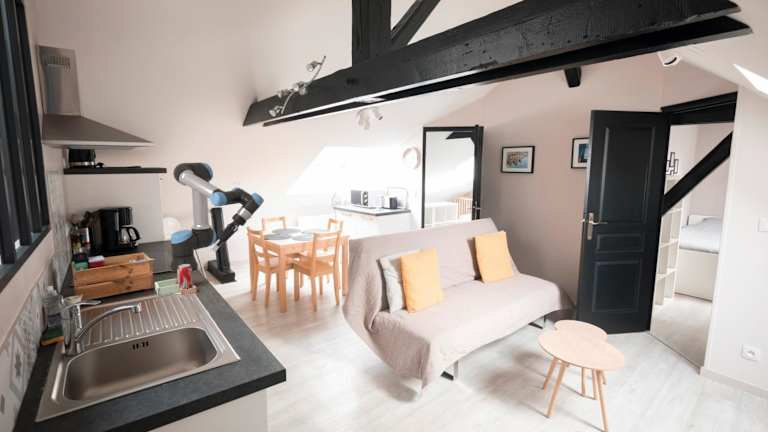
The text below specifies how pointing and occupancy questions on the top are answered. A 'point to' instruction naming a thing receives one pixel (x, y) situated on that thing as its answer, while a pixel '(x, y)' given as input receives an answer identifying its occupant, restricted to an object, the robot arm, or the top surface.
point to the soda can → (185, 276)
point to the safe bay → (166, 287)
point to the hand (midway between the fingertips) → (212, 250)
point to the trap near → (188, 290)
